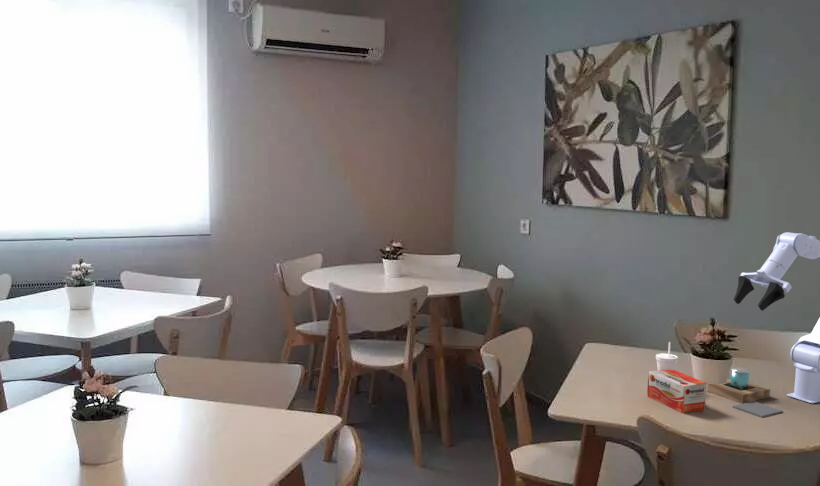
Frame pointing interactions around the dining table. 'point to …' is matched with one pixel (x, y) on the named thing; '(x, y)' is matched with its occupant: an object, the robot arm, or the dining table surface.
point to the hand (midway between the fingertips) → (748, 304)
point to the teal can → (739, 378)
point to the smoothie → (666, 360)
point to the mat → (757, 409)
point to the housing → (740, 392)
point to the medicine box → (677, 390)
